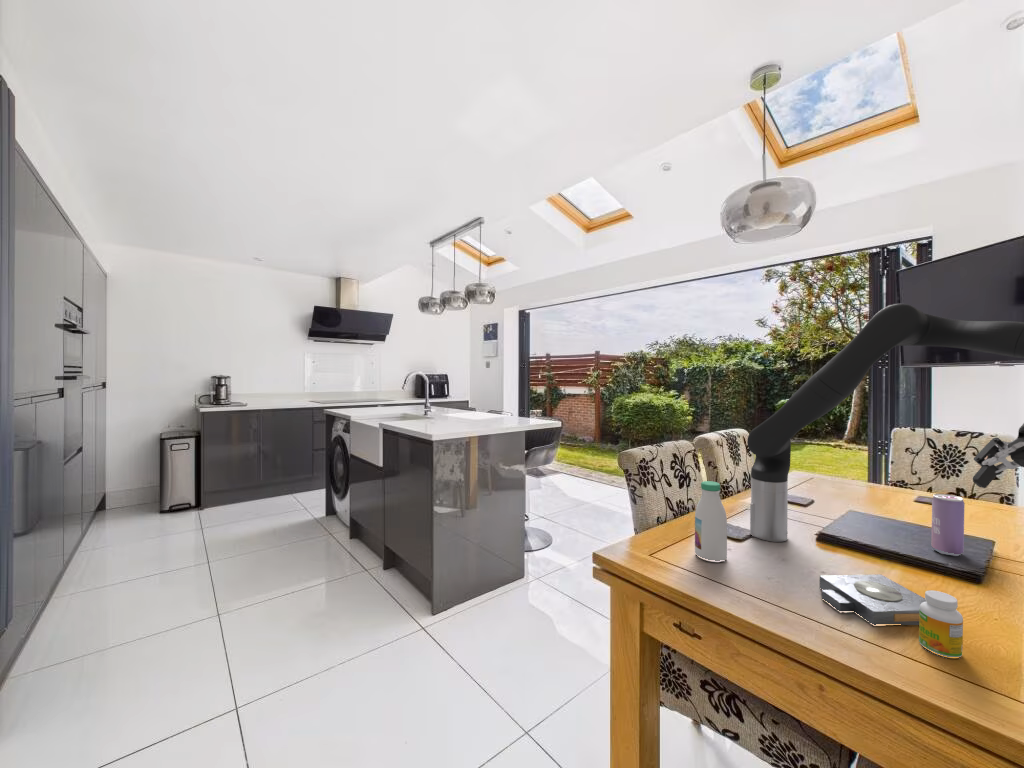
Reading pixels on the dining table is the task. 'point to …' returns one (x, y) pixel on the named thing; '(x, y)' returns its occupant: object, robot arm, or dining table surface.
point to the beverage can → (948, 523)
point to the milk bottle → (710, 524)
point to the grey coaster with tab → (872, 598)
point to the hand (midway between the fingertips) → (1005, 490)
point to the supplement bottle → (941, 624)
